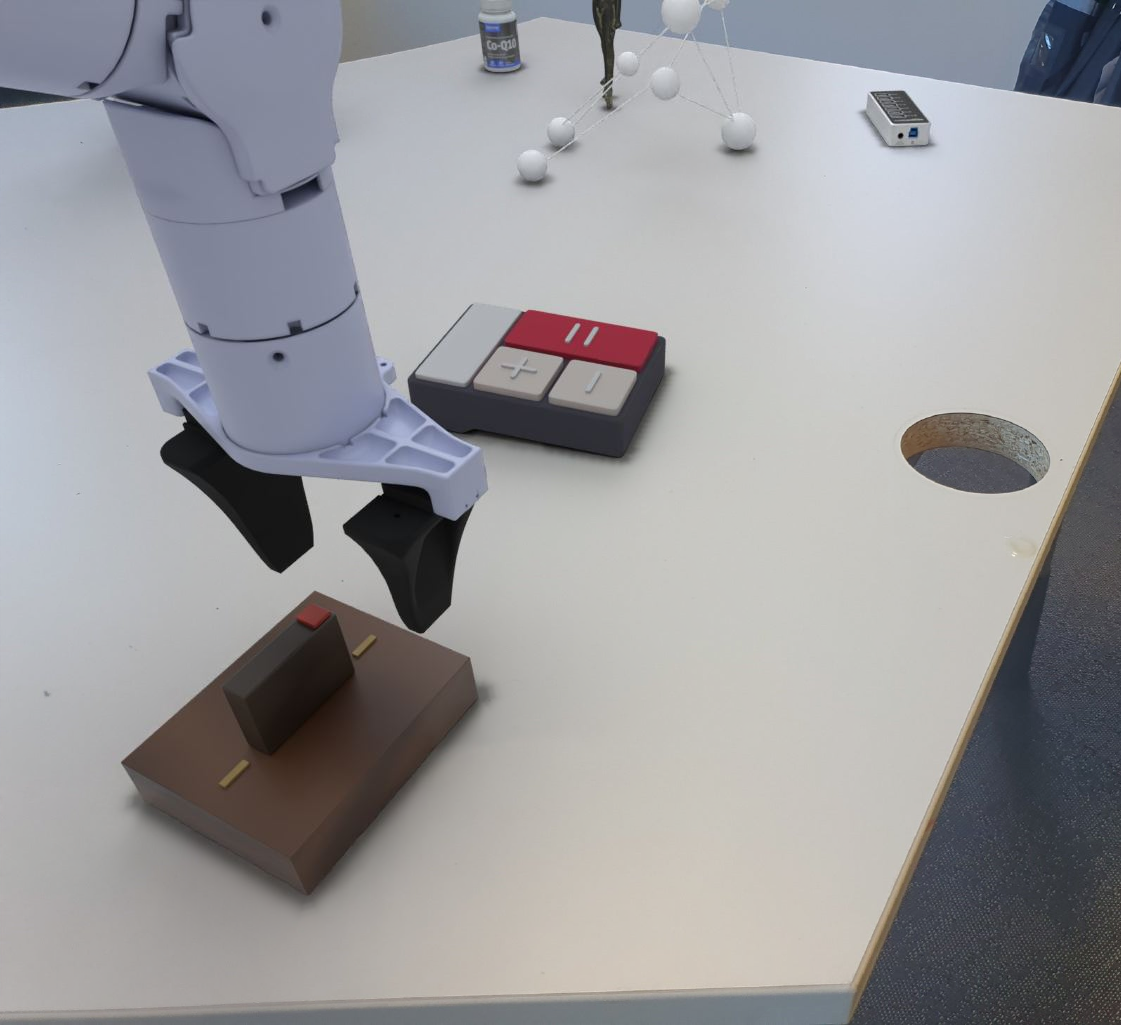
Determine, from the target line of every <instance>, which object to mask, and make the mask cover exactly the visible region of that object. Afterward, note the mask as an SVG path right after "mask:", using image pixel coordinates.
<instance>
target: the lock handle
mask: <svg viewBox="0 0 1121 1025" xmlns="http://www.w3.org/2000/svg"><path fill="white" fill-rule="evenodd" d="M354 671H355V669H354V666H353V663H352V660H351V657H350V654H349V651H348V648H347V645H346V642H345V639H344V636H343V633H342V630H341V627H340V624H339V621H338V618H337V615H336V613H334V612H331V611H329V610H327V609H325V608H322V607H320V606H318V605H316V604H312V603H311V604H310V605H309V606H308V607H307V608H306V609H304V610H303V611H302V612H301V613H300V614H299V615H298V616H297V617H296V620H295V621H294V622H293V623H291V624H290V625H289V626H288V627H287V628H286V629H285V630H284V631H282V632H281V633H280V634H279V635H278V636H277V637H276V638H275V639H274V640H272V641H271V642H270V643H269V644H268V645H267V646H266V647H265V648H264V649H262V650H261V651H260V652H259V653H258V654H257V655H256V656H255V657H253V658H252V659H251V660H250V661H249V662H248V663H247V664H246V665H245V666H243V667H242V668H241V669H240V670H239V671H238V672H237V673H236V674H234V675H233V676H232V677H231V678H230V679H229V680H228V681H227V682H226V683H224V684H223V685H222V687H221V688H222V690H223V692H224V694H225V696H226V698H227V700H228V703H229V705H230V707H231V709H232V711H233V713H234V715H235V717H236V720H237V722H238V724H239V726H240V728H241V730H242V732H243V734H244V736H245V739H246V741H247V743H248V744H249V745H251V746H253V747H255V748H257V749H259V750H261V751H263V752H265V753H266V754H268V755H271V754H272V753H273V752H274V751H275V750H276V749H277V748H278V747H279V746H280V745H281V744H282V743H283V742H284V741H285V740H286V739H287V738H288V737H289V736H290V735H291V734H292V733H293V732H294V731H295V730H296V729H297V728H298V727H299V726H300V725H301V724H302V723H303V722H304V721H305V720H306V719H308V718H309V717H310V716H311V715H312V714H313V713H314V712H315V711H316V710H317V709H318V708H319V707H320V706H321V705H322V704H323V703H324V702H325V701H326V700H327V699H328V698H329V697H330V696H331V695H332V694H333V693H334V692H335V691H336V690H337V689H338V688H339V687H340V686H341V685H342V684H343V683H344V682H345V681H346V680H347V679H348V678H349V677H350V676H351V675H352V674H353V673H354Z"/></svg>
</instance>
